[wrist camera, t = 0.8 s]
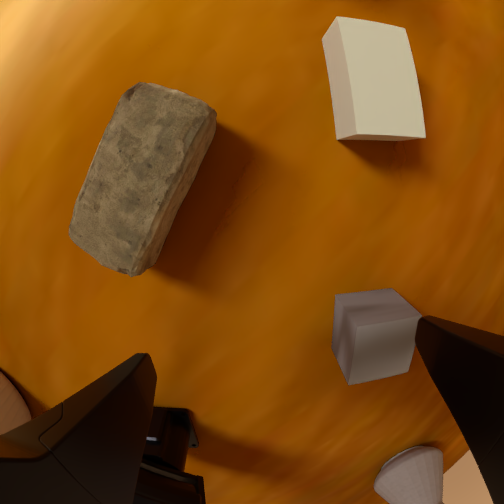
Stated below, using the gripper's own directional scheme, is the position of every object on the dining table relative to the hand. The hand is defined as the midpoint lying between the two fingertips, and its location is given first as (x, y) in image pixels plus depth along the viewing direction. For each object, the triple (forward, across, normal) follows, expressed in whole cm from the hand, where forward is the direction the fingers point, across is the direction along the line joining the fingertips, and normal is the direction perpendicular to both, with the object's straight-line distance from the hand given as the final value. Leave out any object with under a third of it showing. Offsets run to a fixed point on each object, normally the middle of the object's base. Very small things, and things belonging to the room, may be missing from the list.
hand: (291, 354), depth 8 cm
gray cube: (+12, -8, +7) cm, 16 cm away
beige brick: (+12, -8, -11) cm, 19 cm away
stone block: (+13, +7, -6) cm, 16 cm away
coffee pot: (+13, -17, +40) cm, 45 cm away
